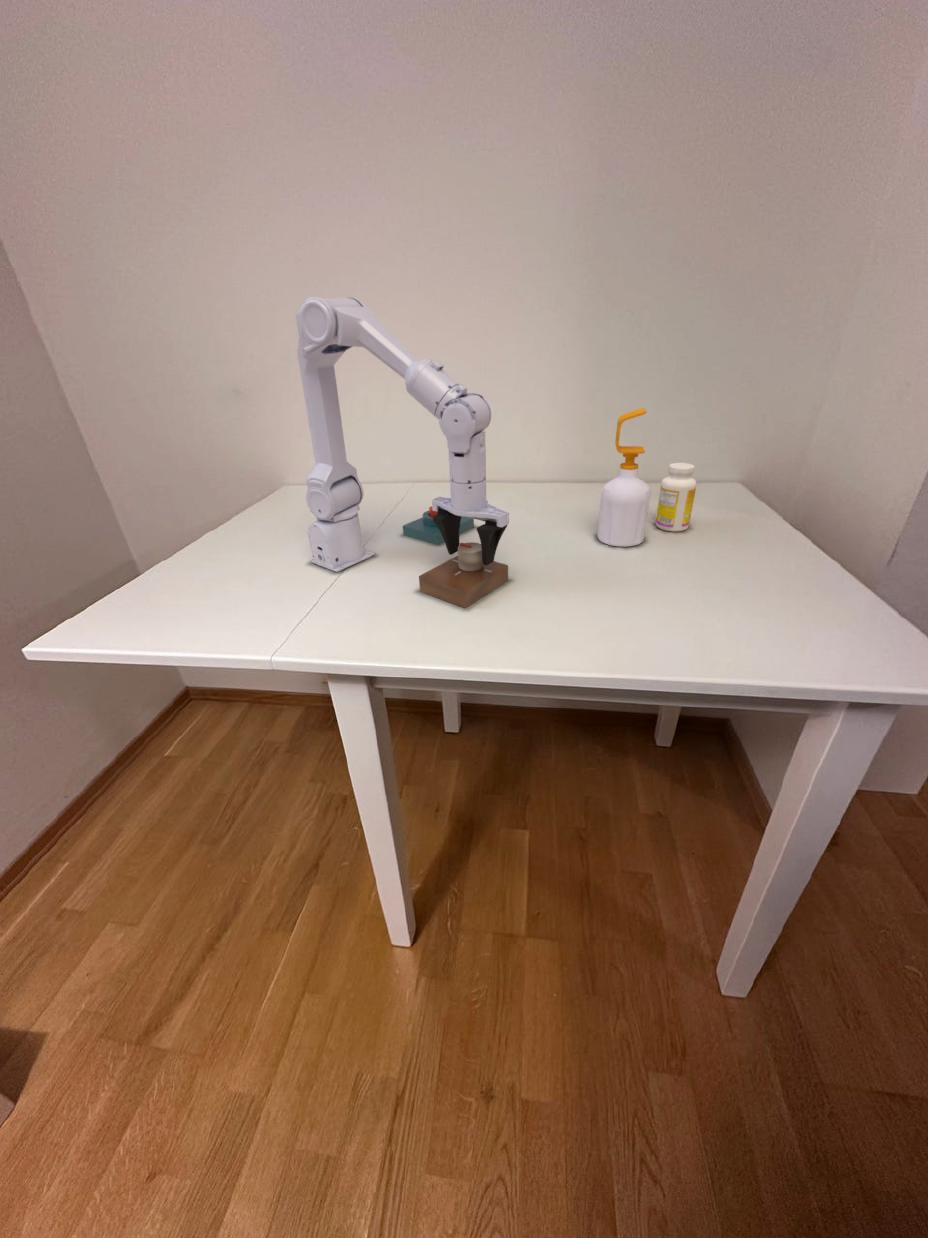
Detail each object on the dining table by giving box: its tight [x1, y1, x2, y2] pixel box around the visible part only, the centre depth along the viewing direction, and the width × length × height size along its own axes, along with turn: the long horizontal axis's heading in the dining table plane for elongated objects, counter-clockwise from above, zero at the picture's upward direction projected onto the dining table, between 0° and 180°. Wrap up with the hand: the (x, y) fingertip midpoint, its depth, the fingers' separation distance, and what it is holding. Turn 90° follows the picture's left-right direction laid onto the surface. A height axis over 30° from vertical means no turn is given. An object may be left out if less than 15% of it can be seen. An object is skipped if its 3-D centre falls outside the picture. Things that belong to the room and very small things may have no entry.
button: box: [428, 505, 438, 517], centre depth 109 cm, size 4×4×2 cm
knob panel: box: [418, 555, 509, 609], centre depth 88 cm, size 12×10×3 cm
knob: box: [457, 542, 484, 571], centre depth 87 cm, size 4×4×4 cm
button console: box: [402, 509, 475, 546], centre depth 110 cm, size 12×10×4 cm
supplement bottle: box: [655, 462, 698, 532], centre depth 104 cm, size 7×7×13 cm
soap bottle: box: [596, 407, 652, 548], centre depth 97 cm, size 9×9×25 cm
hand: (470, 557), depth 87 cm, fingers open, 7 cm apart
